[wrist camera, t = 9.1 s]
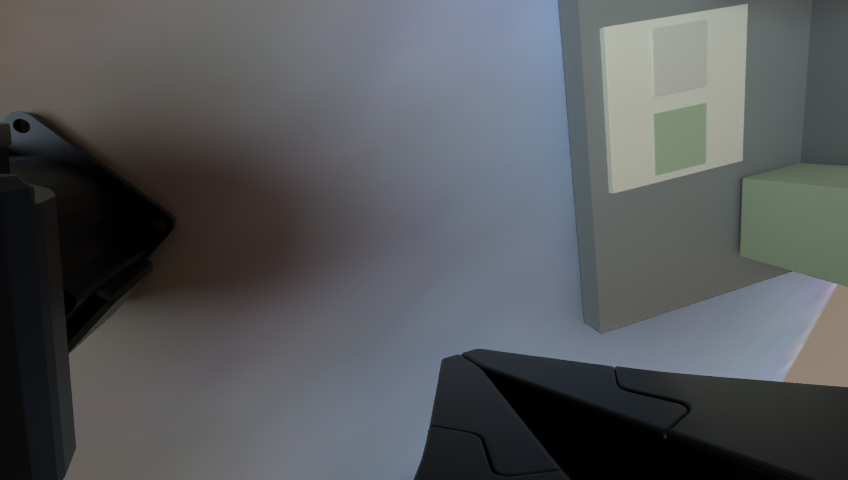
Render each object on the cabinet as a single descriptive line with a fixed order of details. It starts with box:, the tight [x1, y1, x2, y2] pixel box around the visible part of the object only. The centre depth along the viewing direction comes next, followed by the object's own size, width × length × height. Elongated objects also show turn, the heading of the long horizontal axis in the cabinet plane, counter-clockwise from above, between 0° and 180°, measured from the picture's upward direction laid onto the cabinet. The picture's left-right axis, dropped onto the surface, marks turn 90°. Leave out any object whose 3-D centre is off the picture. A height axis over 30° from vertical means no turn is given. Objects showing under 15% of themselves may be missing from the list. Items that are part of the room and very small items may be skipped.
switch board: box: [558, 0, 848, 334], centre depth 21 cm, size 15×23×4 cm, turn 11°
